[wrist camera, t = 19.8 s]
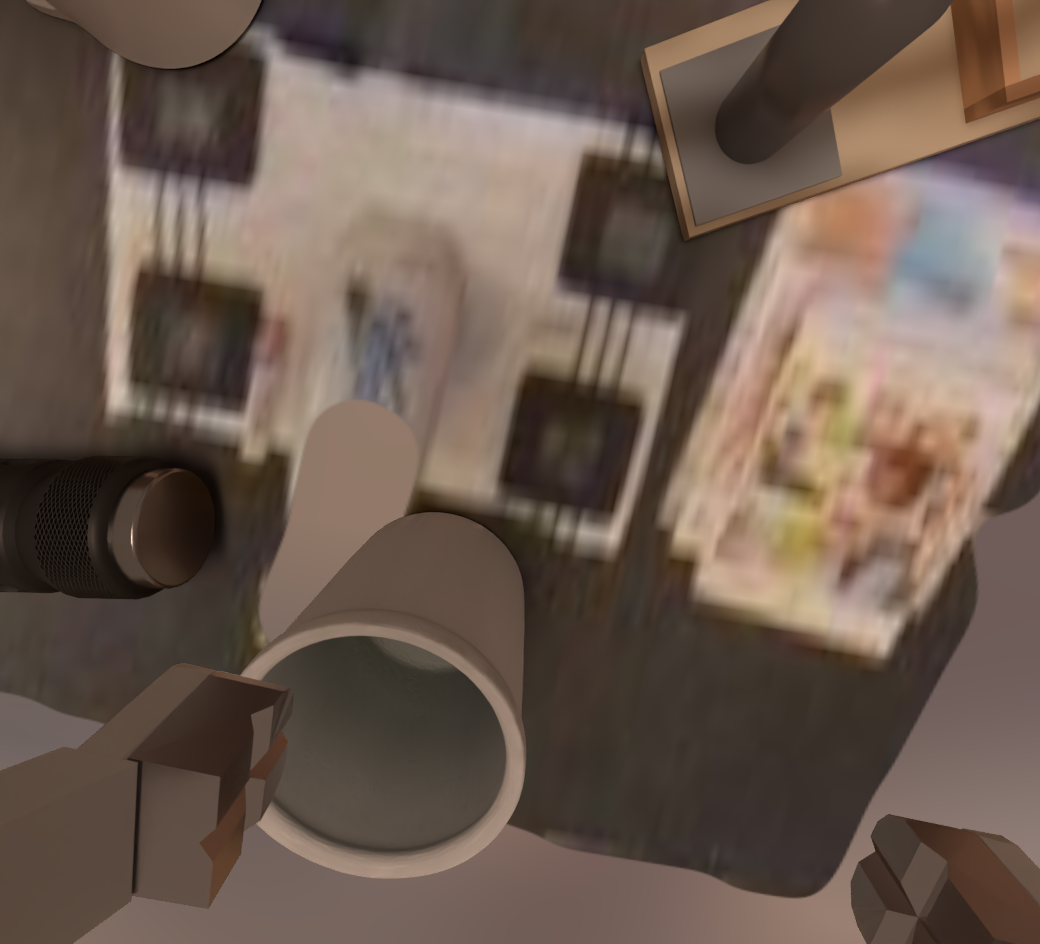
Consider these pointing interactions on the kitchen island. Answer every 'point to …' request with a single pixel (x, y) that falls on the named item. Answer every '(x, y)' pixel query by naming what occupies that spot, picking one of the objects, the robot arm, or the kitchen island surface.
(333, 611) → the utensil holder
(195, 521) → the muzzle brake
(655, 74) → the cable board
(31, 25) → the kitchen island surface
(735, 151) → the plug
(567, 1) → the kitchen island surface
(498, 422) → the kitchen island surface
